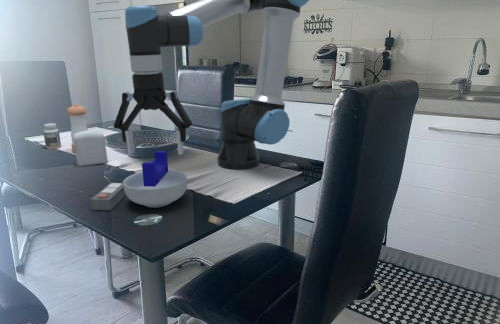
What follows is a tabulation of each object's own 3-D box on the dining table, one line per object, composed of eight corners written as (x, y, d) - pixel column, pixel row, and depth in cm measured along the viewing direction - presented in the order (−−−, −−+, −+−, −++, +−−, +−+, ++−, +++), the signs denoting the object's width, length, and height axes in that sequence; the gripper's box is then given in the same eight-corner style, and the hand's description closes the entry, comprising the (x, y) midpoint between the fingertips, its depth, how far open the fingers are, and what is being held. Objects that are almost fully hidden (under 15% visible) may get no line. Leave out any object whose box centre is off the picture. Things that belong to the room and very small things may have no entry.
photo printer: (76, 167, 135) (72, 133, 131) (77, 163, 139) (72, 130, 135) (107, 164, 138) (103, 130, 134) (107, 160, 142) (103, 128, 138)
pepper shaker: (74, 154, 150) (67, 106, 144) (71, 150, 155) (64, 103, 150) (93, 151, 153) (87, 104, 148) (89, 147, 159) (83, 102, 153)
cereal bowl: (191, 190, 113) (190, 167, 111) (184, 214, 98) (182, 188, 95) (134, 191, 113) (132, 168, 111) (117, 215, 97) (114, 189, 95)
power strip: (131, 189, 114) (130, 178, 113) (110, 210, 100) (109, 198, 99) (115, 189, 114) (113, 178, 113) (92, 209, 100) (90, 197, 99)
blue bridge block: (152, 171, 109) (151, 150, 107) (168, 171, 108) (166, 151, 107) (138, 186, 97) (136, 163, 95) (155, 186, 97) (153, 164, 95)
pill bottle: (51, 145, 163) (48, 122, 160) (64, 145, 162) (60, 123, 159) (43, 149, 158) (39, 125, 155) (55, 149, 157) (51, 125, 154)
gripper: (199, 70, 98) (204, 149, 105) (105, 72, 100) (116, 149, 106) (193, 73, 91) (199, 157, 97) (92, 75, 93) (105, 157, 99)
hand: (156, 153), depth 102 cm, fingers open, 13 cm apart
